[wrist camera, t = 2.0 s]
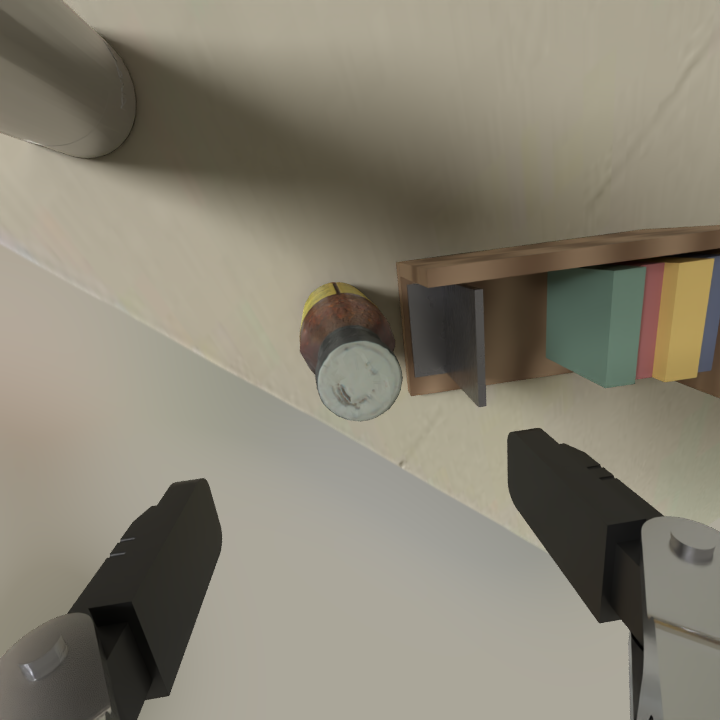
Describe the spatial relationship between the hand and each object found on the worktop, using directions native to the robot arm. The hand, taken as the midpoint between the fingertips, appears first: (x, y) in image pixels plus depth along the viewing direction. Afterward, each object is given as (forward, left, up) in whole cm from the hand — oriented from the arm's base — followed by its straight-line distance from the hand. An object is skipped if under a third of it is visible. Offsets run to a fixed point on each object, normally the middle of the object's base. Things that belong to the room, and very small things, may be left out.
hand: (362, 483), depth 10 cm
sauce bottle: (0, 0, -28) cm, 28 cm away
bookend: (+8, -3, -26) cm, 27 cm away
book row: (+24, -3, -26) cm, 36 cm away
